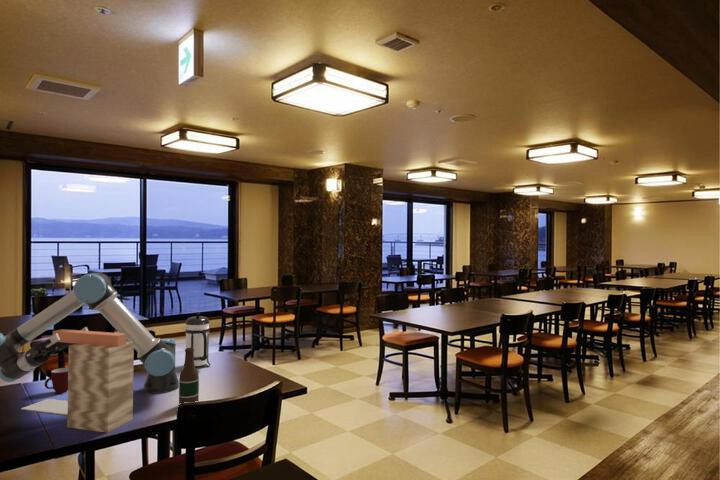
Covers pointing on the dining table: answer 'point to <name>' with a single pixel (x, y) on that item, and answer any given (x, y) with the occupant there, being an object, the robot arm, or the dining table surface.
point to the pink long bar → (91, 337)
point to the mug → (59, 380)
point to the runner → (49, 406)
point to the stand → (100, 386)
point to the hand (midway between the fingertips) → (73, 333)
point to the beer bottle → (189, 379)
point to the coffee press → (198, 338)
